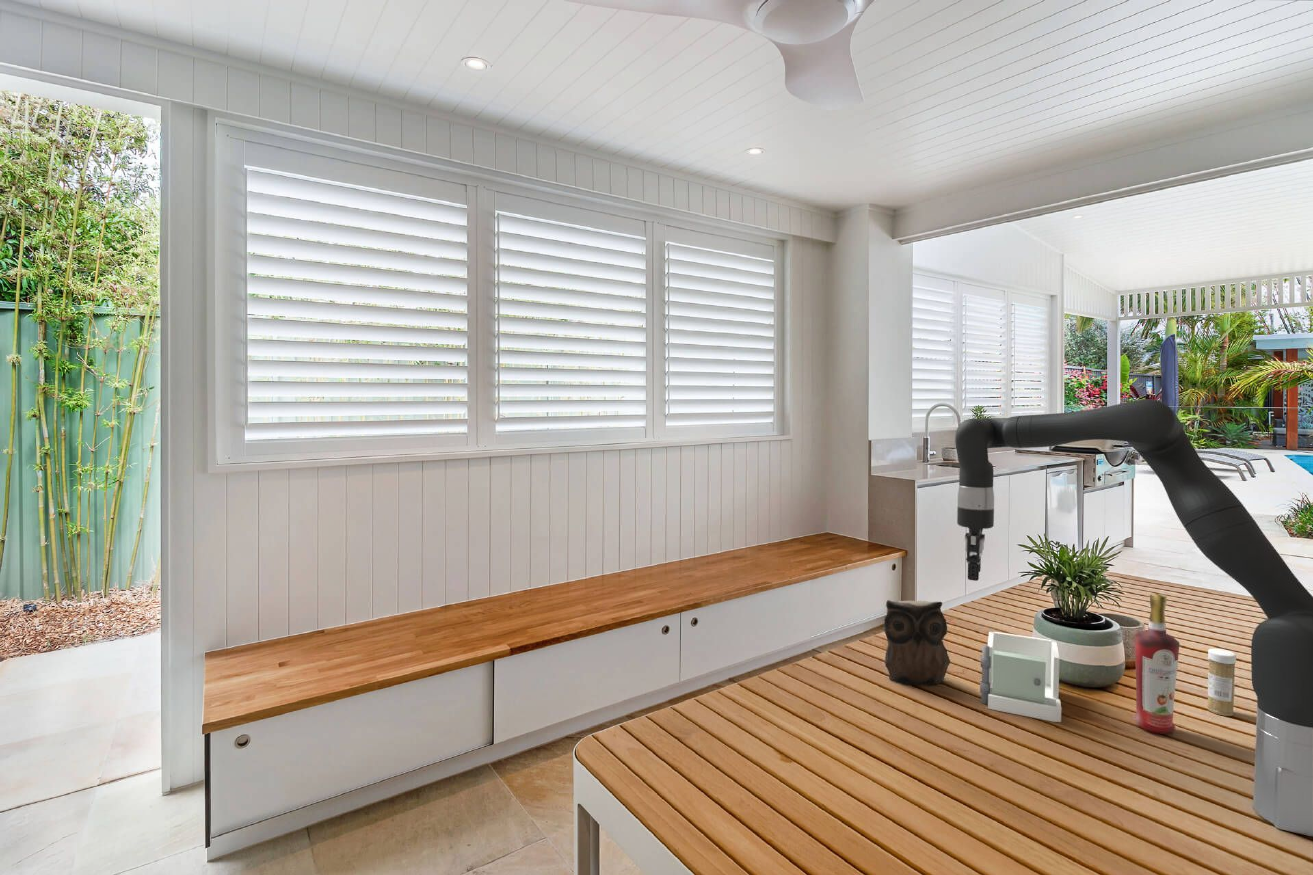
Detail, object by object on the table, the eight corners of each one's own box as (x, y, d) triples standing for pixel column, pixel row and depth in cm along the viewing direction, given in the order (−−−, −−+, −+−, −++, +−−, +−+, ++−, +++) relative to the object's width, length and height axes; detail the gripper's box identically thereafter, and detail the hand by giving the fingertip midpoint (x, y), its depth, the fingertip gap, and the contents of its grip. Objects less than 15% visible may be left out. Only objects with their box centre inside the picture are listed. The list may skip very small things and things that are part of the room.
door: (1044, 718, 138) (1045, 663, 138) (992, 708, 143) (993, 655, 143) (1043, 712, 141) (1045, 658, 141) (992, 702, 146) (993, 650, 146)
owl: (952, 682, 157) (953, 601, 156) (918, 694, 150) (919, 610, 149) (907, 665, 167) (908, 588, 166) (874, 675, 161) (875, 596, 160)
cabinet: (1061, 723, 136) (1062, 662, 136) (979, 706, 144) (980, 649, 143) (1056, 691, 152) (1057, 636, 151) (982, 677, 159) (983, 625, 159)
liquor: (1165, 722, 137) (1170, 591, 135) (1183, 739, 130) (1188, 602, 128) (1125, 717, 139) (1129, 589, 137) (1141, 734, 132) (1145, 599, 130)
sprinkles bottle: (1237, 713, 141) (1239, 652, 140) (1229, 718, 138) (1232, 657, 137) (1210, 705, 144) (1212, 646, 144) (1202, 710, 142) (1205, 650, 141)
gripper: (993, 511, 140) (991, 585, 140) (994, 502, 152) (993, 570, 153) (955, 508, 143) (953, 580, 144) (959, 500, 156) (958, 567, 156)
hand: (974, 575), depth 148 cm, fingers open, 8 cm apart
